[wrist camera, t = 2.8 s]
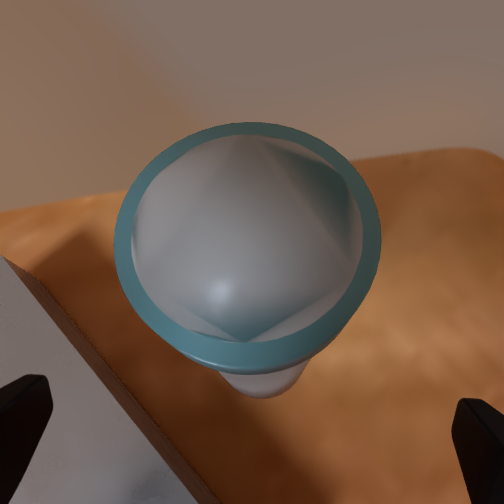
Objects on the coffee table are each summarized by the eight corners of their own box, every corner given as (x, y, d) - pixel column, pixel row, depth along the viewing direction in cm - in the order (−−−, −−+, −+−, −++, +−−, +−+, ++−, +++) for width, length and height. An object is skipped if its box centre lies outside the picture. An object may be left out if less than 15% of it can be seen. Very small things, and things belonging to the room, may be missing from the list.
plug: (331, 353, 19) (436, 223, 7) (262, 429, 18) (244, 433, 6) (261, 287, 20) (247, 85, 8) (193, 353, 19) (61, 229, 7)
